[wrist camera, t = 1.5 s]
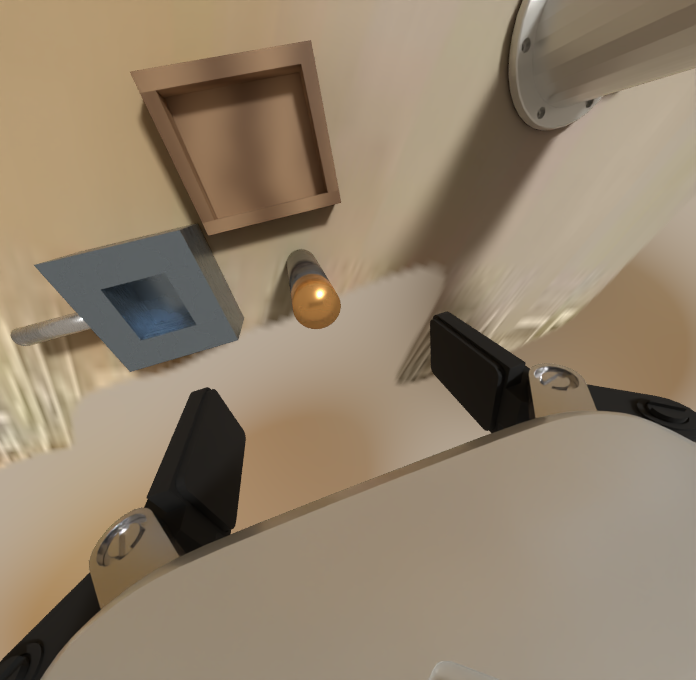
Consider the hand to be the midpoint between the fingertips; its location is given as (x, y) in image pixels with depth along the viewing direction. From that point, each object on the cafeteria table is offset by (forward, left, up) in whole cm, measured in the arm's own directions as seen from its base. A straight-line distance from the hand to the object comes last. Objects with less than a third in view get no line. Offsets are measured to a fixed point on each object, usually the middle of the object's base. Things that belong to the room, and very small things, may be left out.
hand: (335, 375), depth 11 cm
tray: (+1, -10, -19) cm, 22 cm away
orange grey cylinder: (0, 0, -19) cm, 19 cm away
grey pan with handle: (+16, -1, -19) cm, 25 cm away
